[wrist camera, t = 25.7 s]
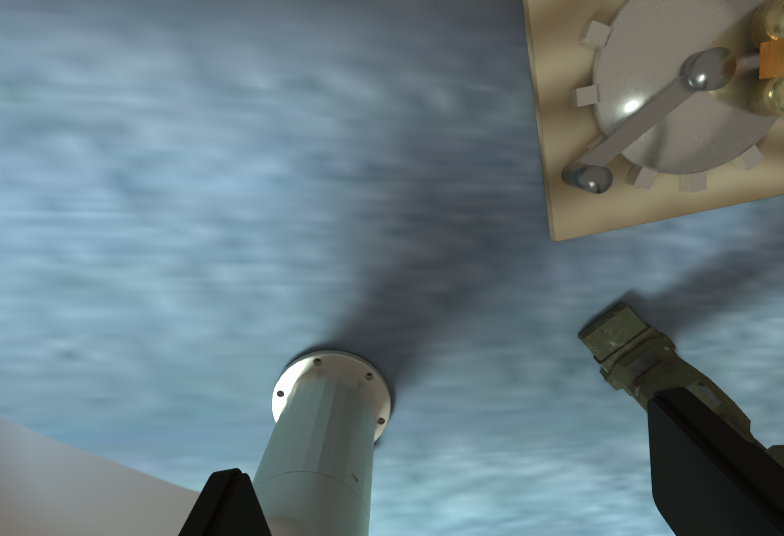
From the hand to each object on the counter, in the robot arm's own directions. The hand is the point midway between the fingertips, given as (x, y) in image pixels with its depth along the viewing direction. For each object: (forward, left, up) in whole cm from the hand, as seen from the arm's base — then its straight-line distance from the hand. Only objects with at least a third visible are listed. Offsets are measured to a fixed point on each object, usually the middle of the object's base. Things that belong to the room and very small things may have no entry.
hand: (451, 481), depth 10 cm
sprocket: (+6, -25, -32) cm, 40 cm away
